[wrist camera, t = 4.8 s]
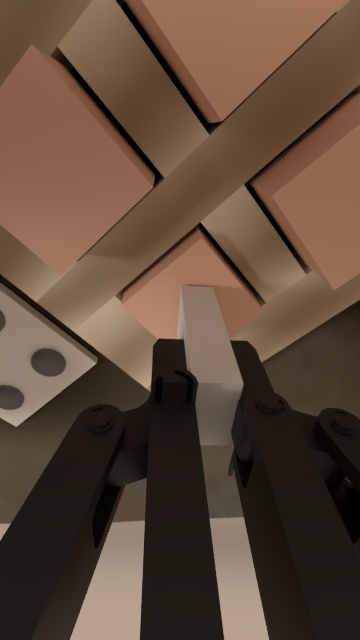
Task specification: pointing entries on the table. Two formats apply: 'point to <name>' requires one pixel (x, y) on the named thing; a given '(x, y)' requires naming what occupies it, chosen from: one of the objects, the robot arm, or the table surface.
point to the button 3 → (228, 43)
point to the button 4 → (320, 194)
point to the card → (34, 359)
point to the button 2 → (189, 270)
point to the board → (182, 175)
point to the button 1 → (61, 163)
